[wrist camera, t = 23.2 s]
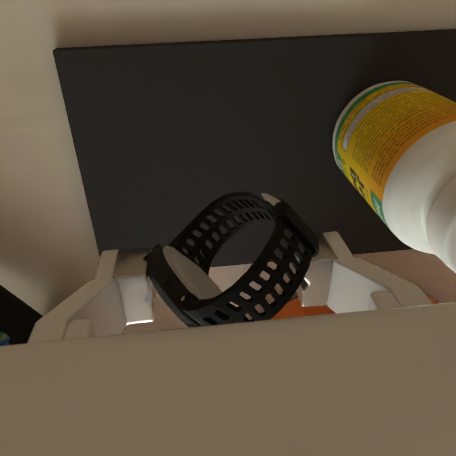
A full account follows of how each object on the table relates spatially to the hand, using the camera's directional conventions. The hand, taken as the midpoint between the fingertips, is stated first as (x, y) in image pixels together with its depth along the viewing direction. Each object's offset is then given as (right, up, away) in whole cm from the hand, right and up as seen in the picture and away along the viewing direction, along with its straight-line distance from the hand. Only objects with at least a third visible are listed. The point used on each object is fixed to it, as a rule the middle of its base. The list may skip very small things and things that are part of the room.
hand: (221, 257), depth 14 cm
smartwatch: (0, +1, +1) cm, 2 cm away
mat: (+3, +4, +8) cm, 10 cm away
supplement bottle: (+8, +6, +7) cm, 12 cm away
